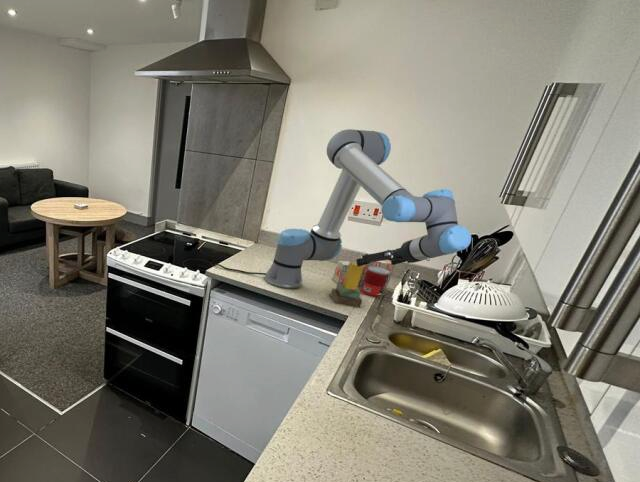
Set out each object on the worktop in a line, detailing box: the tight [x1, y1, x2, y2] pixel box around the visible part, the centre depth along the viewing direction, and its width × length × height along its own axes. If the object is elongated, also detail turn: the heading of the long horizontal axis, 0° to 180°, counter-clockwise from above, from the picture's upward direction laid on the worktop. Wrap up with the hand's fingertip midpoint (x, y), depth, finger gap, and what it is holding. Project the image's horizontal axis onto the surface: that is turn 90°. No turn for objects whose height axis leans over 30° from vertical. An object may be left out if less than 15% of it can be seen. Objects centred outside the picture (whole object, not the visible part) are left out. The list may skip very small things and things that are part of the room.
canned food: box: [360, 267, 390, 298], centre depth 167 cm, size 8×8×11 cm
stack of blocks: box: [332, 256, 396, 290], centre depth 176 cm, size 21×6×12 cm, turn 84°
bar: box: [343, 261, 364, 290], centre depth 155 cm, size 4×4×10 cm
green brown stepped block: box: [330, 283, 363, 308], centre depth 158 cm, size 9×9×6 cm
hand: (374, 262), depth 149 cm, fingers open, 13 cm apart
